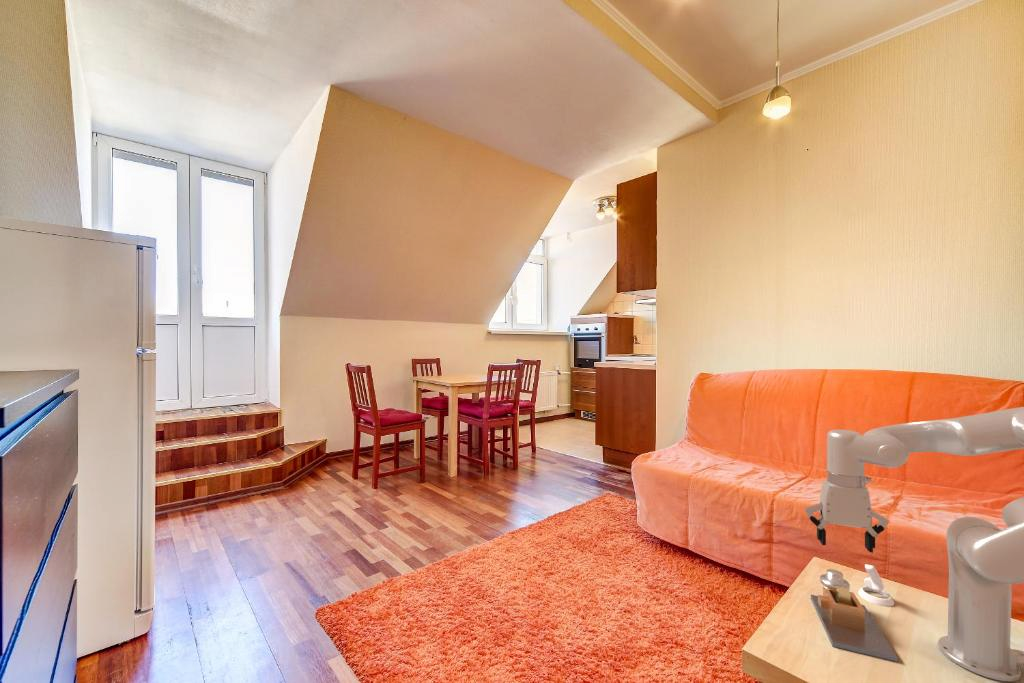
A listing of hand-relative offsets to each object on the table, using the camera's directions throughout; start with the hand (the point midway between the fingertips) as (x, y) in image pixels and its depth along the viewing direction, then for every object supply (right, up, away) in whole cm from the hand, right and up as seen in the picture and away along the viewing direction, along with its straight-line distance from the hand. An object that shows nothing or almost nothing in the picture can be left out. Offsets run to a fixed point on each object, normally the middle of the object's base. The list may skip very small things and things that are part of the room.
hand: (845, 546), depth 109 cm
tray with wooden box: (0, -20, -1) cm, 20 cm away
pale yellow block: (0, -18, 0) cm, 18 cm away
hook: (+17, -20, +11) cm, 28 cm away
